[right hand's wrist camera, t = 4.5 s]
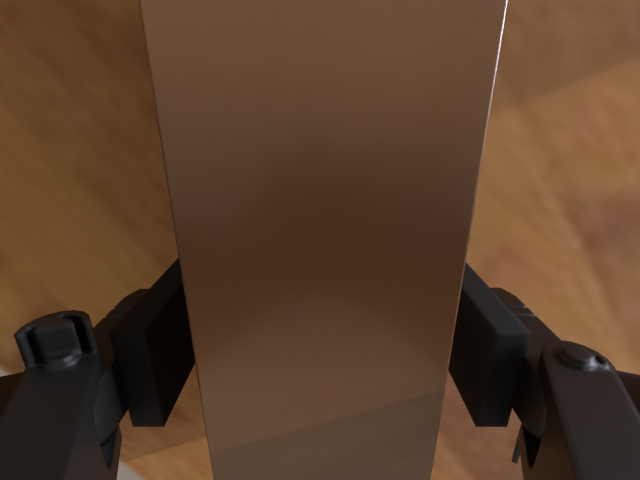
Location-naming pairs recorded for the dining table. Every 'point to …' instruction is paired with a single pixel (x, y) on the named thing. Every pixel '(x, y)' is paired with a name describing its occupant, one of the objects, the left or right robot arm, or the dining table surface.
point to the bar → (322, 219)
